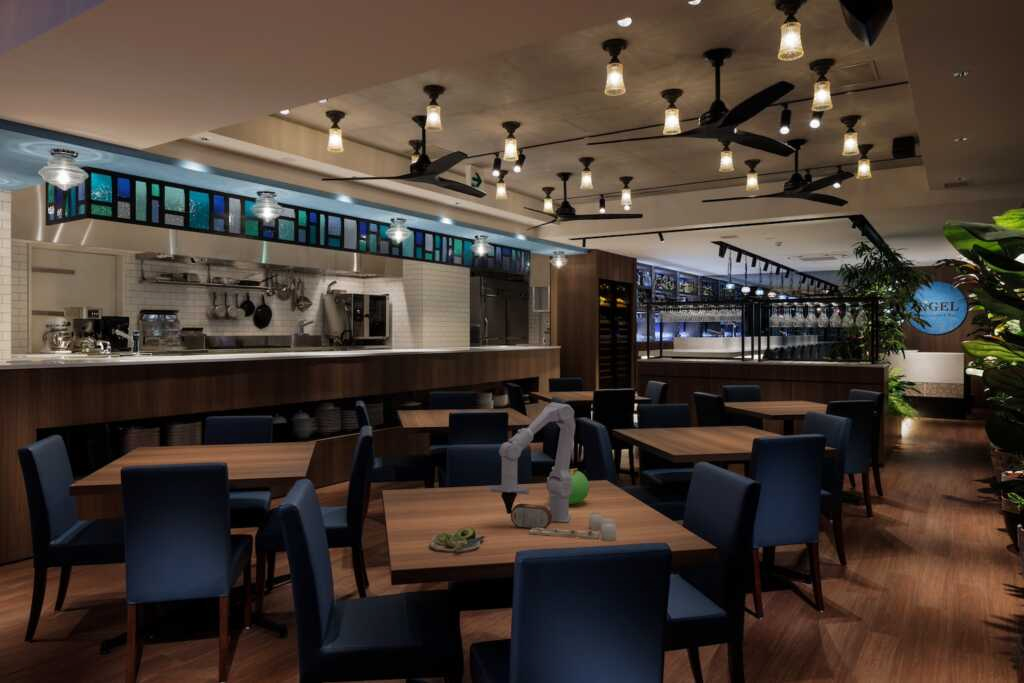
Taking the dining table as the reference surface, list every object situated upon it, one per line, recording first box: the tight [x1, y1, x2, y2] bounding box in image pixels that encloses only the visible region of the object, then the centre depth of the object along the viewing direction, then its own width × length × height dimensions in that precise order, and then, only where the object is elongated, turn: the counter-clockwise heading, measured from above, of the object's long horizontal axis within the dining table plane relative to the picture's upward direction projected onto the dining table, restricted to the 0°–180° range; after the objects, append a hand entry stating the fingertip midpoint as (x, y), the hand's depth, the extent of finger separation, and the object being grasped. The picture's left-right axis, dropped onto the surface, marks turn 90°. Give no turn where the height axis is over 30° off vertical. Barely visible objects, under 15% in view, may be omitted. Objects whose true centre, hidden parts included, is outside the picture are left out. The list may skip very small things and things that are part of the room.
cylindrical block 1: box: [588, 512, 604, 531], centre depth 250 cm, size 5×5×5 cm
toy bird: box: [546, 466, 590, 505], centre depth 288 cm, size 18×17×15 cm
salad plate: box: [429, 526, 486, 553], centre depth 227 cm, size 19×18×5 cm
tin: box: [510, 503, 553, 529], centre depth 249 cm, size 15×3×8 cm, turn 74°
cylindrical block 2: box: [599, 516, 616, 535], centre depth 244 cm, size 5×5×5 cm
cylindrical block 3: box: [600, 522, 617, 542], centre depth 237 cm, size 5×5×5 cm
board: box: [528, 528, 600, 540], centre depth 241 cm, size 5×24×1 cm, turn 77°
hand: (509, 513), depth 251 cm, fingers closed
